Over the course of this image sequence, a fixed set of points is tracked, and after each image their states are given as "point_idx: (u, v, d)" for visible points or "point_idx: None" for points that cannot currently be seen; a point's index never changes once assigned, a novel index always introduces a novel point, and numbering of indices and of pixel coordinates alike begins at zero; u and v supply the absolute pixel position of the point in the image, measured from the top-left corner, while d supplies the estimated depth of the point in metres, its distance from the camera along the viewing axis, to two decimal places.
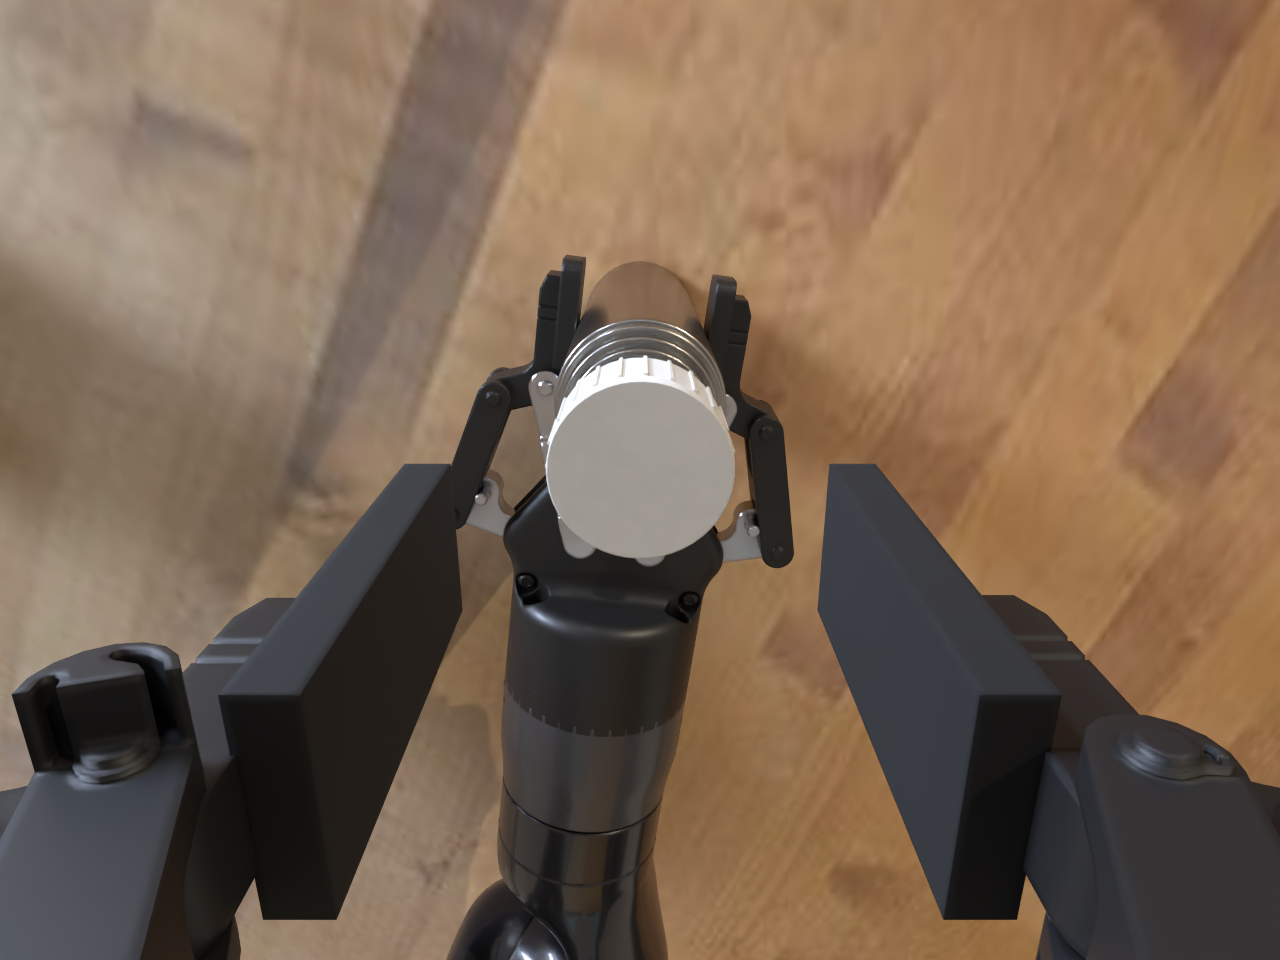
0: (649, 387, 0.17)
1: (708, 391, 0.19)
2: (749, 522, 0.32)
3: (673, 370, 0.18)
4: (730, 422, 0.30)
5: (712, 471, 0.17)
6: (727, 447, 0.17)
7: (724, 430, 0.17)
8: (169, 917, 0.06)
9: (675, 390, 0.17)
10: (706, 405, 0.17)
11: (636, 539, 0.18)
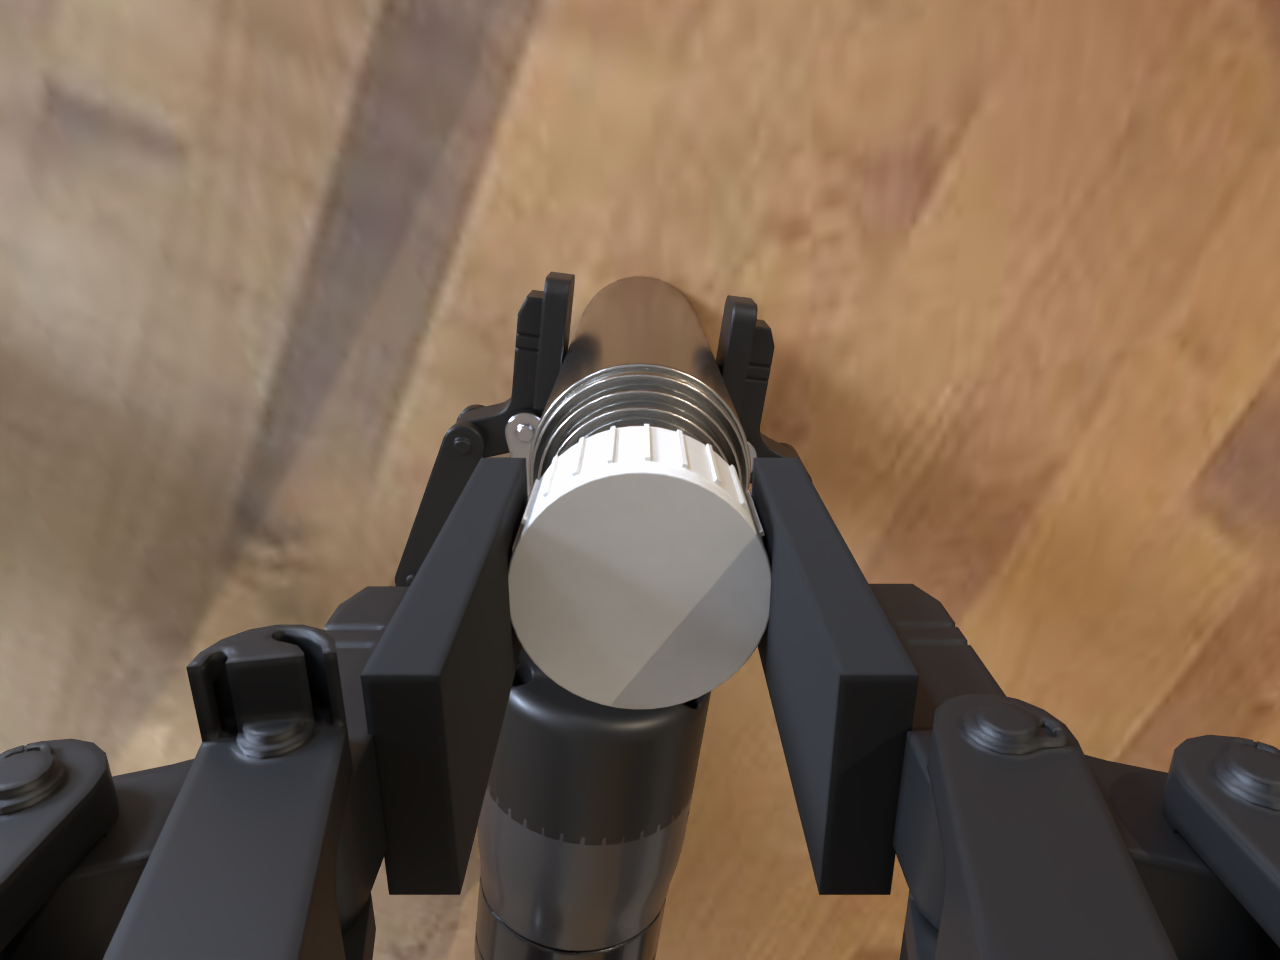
0: (652, 480, 0.12)
1: (733, 474, 0.13)
2: None
3: (685, 446, 0.13)
4: None
5: (741, 594, 0.12)
6: (763, 562, 0.12)
7: (759, 539, 0.12)
8: (324, 895, 0.06)
9: (689, 484, 0.12)
10: (733, 504, 0.12)
11: (634, 685, 0.13)
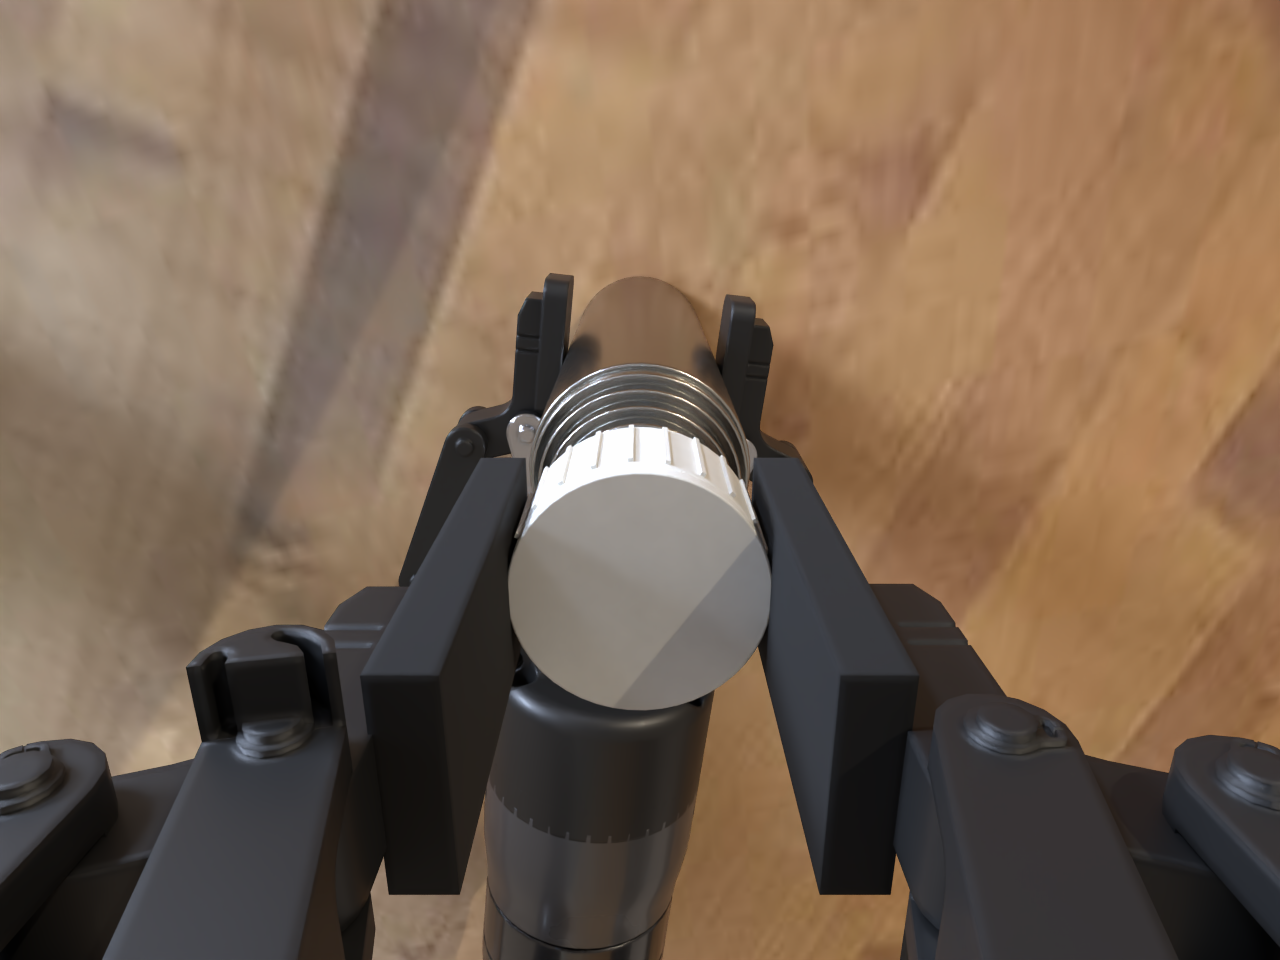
0: (543, 660, 0.13)
1: None
2: None
3: None
4: None
5: (566, 531, 0.12)
6: (527, 538, 0.12)
7: (513, 556, 0.12)
8: (324, 895, 0.06)
9: (521, 636, 0.13)
10: None
11: (721, 539, 0.12)
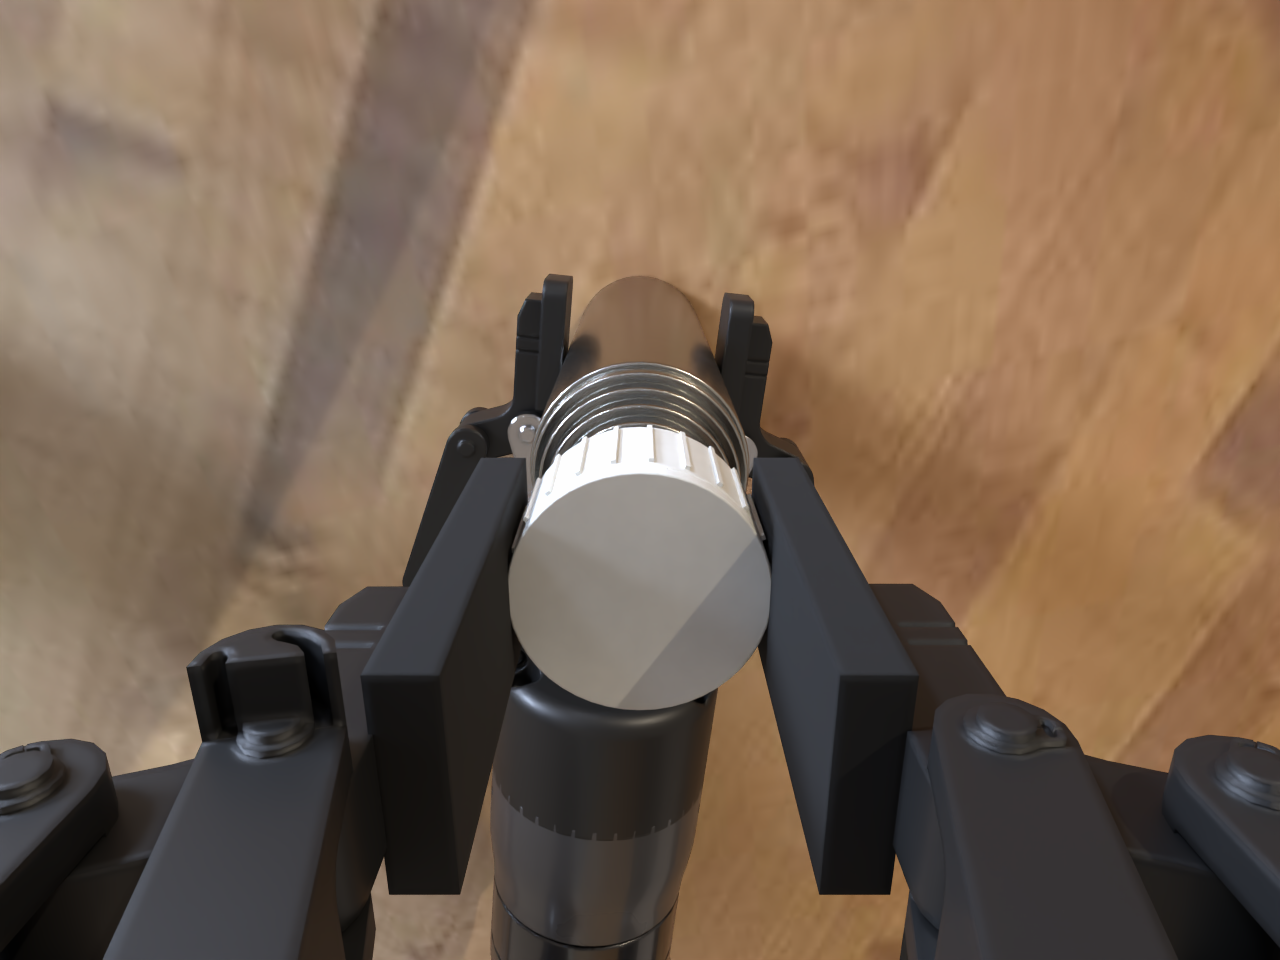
0: (759, 617, 0.12)
1: None
2: None
3: None
4: (750, 468, 0.25)
5: (633, 685, 0.13)
6: (664, 702, 0.13)
7: (687, 699, 0.13)
8: (324, 895, 0.06)
9: (750, 648, 0.13)
10: (724, 680, 0.13)
11: (538, 584, 0.12)
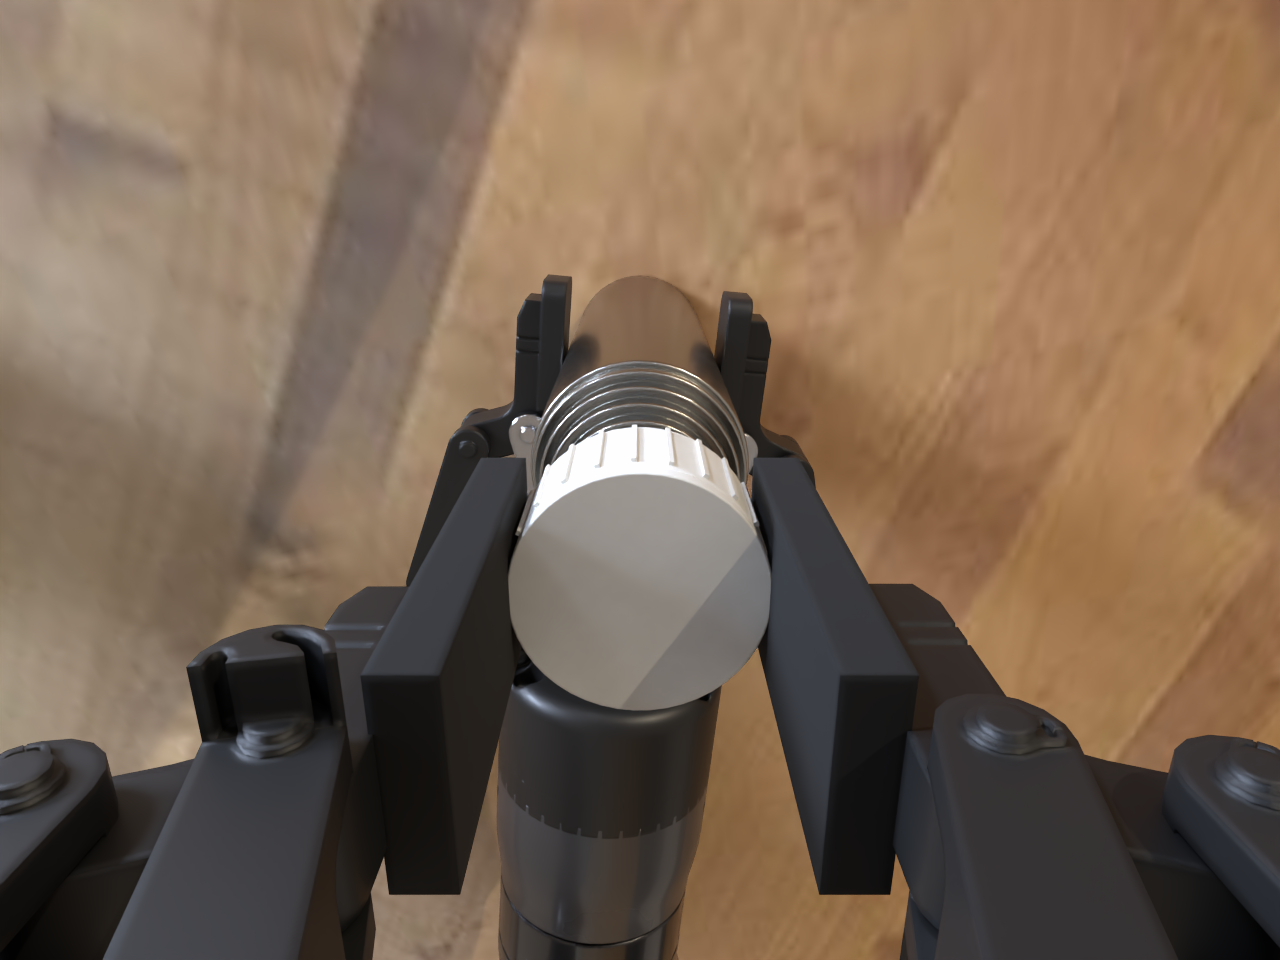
0: (572, 498, 0.12)
1: (666, 436, 0.13)
2: None
3: (606, 443, 0.13)
4: (750, 466, 0.25)
5: (721, 540, 0.12)
6: (717, 501, 0.12)
7: (698, 484, 0.12)
8: (324, 895, 0.06)
9: (604, 480, 0.12)
10: (654, 471, 0.12)
11: (694, 671, 0.13)
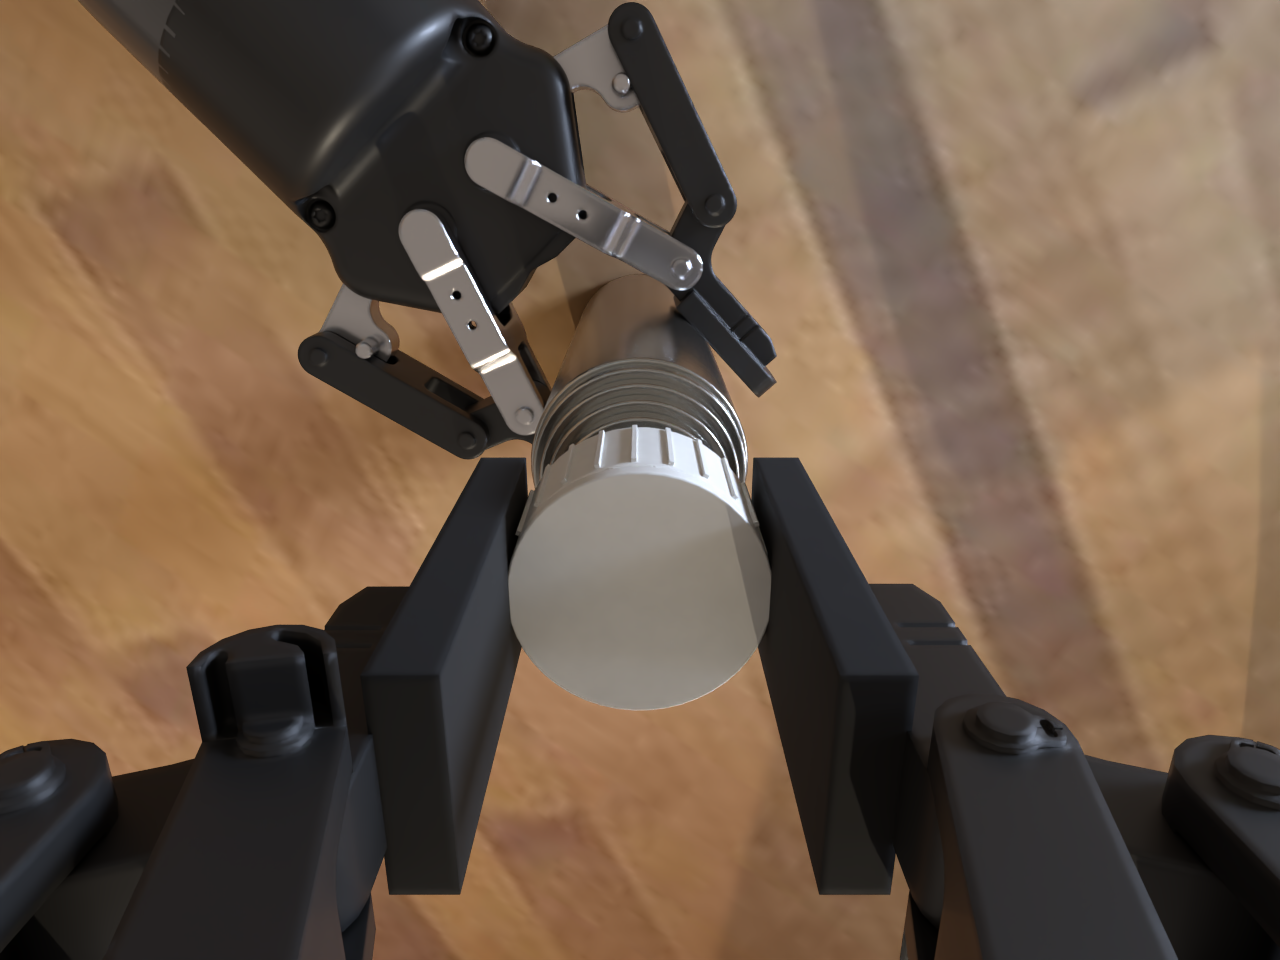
0: (572, 498, 0.12)
1: (666, 436, 0.13)
2: (376, 349, 0.24)
3: (606, 443, 0.13)
4: (504, 415, 0.25)
5: (721, 540, 0.12)
6: (717, 501, 0.12)
7: (698, 484, 0.12)
8: (324, 895, 0.06)
9: (604, 481, 0.12)
10: (654, 471, 0.12)
11: (694, 671, 0.13)
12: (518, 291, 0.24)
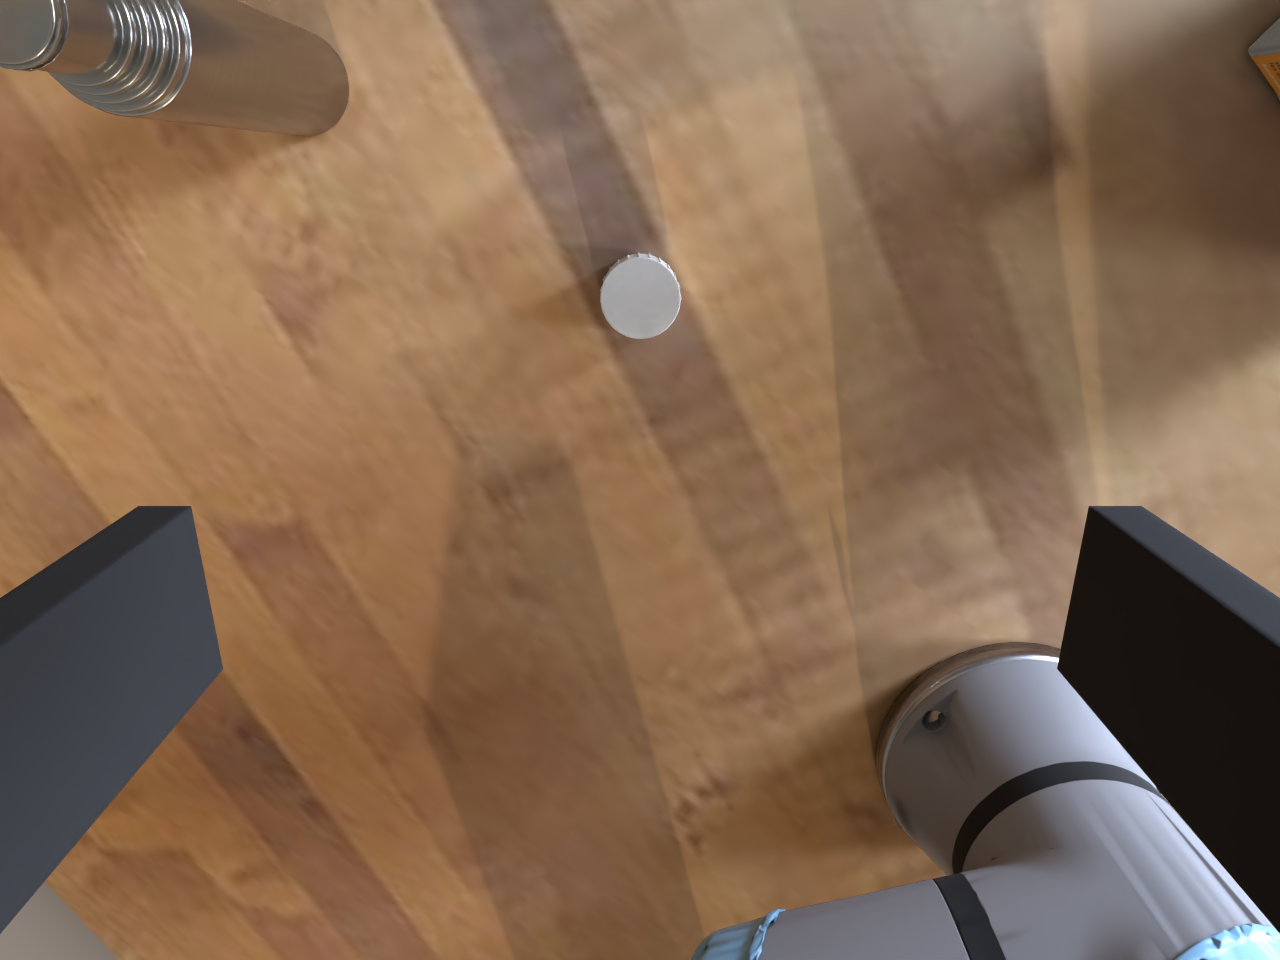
0: (620, 266, 0.41)
1: (648, 254, 0.42)
2: None
3: (629, 256, 0.42)
4: None
5: (664, 279, 0.41)
6: (663, 267, 0.41)
7: (657, 261, 0.40)
8: None
9: (630, 260, 0.40)
10: (644, 257, 0.40)
11: (657, 324, 0.41)
12: None
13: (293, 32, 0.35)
